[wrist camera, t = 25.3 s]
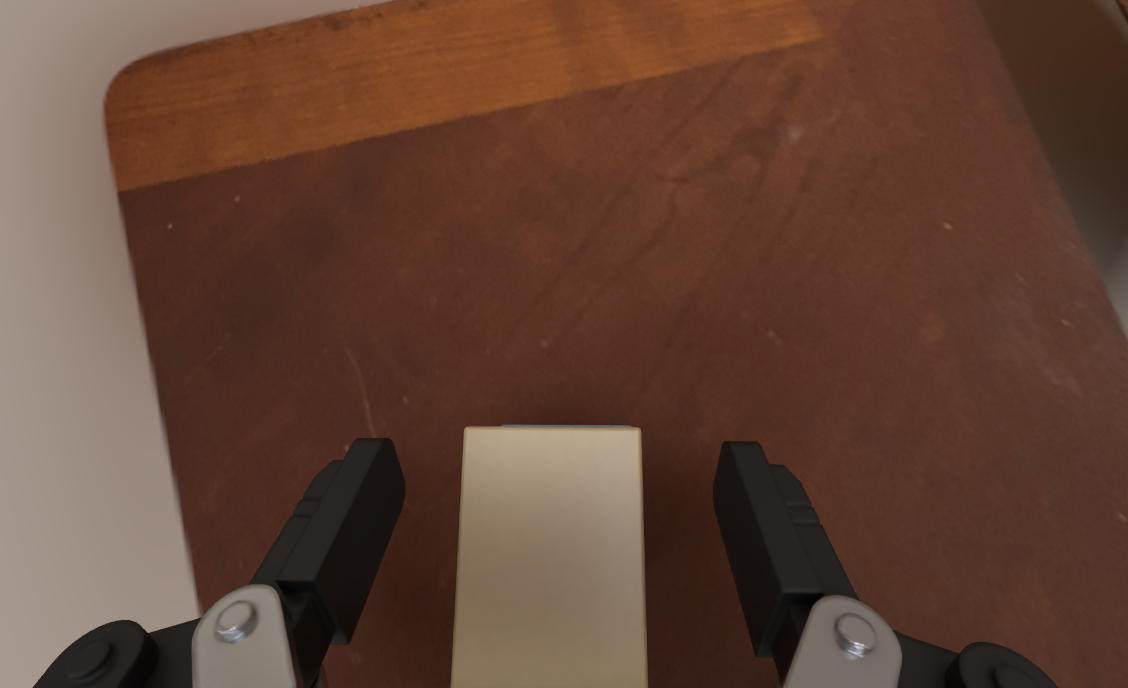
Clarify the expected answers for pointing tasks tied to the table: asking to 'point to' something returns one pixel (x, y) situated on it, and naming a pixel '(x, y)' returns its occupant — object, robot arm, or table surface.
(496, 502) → the eraser
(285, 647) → the robot arm
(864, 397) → the table surface
